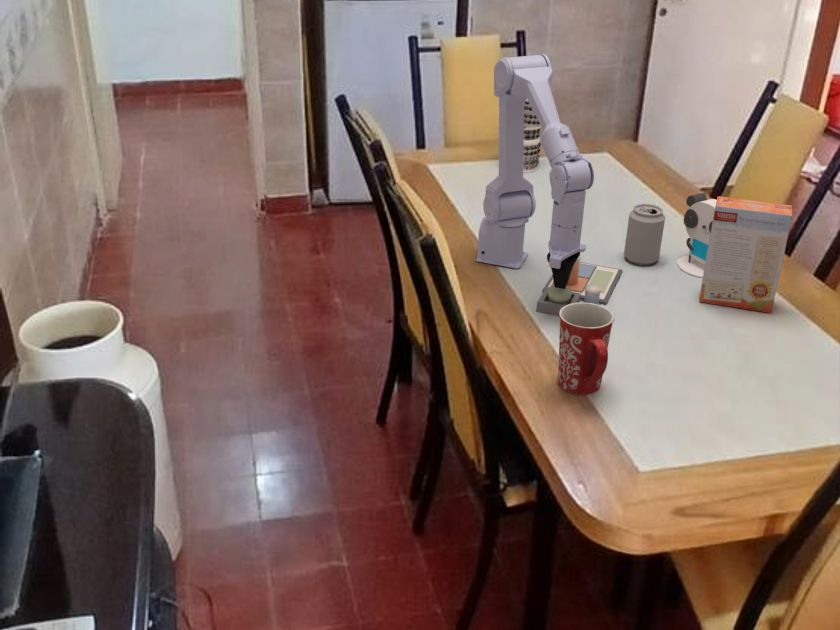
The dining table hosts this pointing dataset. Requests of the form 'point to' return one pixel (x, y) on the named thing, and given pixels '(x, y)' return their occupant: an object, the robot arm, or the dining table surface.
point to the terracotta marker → (574, 273)
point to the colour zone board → (594, 280)
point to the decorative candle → (531, 139)
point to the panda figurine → (697, 233)
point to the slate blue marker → (592, 294)
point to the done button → (559, 295)
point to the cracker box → (745, 253)
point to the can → (644, 234)
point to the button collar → (554, 307)
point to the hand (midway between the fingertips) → (560, 286)
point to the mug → (583, 346)
